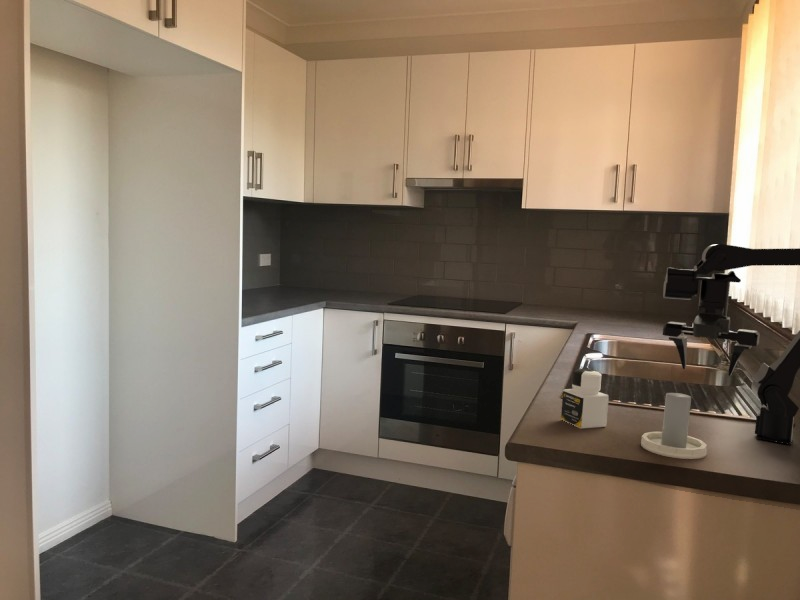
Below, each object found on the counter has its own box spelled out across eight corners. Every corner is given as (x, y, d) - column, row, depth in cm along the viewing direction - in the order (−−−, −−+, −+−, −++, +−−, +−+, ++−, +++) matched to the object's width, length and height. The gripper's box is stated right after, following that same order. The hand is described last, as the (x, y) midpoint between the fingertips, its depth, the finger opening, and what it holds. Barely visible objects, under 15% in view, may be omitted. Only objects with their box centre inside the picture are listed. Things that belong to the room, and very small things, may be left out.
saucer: (710, 448, 135) (711, 439, 135) (700, 463, 125) (701, 454, 125) (648, 436, 141) (649, 428, 141) (634, 449, 131) (635, 440, 131)
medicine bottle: (560, 420, 151) (564, 367, 150) (585, 418, 153) (590, 366, 152) (580, 429, 144) (584, 374, 143) (606, 427, 147) (611, 373, 146)
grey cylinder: (683, 443, 135) (688, 394, 134) (688, 450, 130) (693, 399, 129) (659, 440, 136) (664, 391, 135) (663, 447, 131) (667, 396, 130)
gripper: (660, 299, 144) (653, 370, 146) (758, 308, 134) (750, 384, 136) (671, 297, 154) (664, 364, 155) (763, 305, 144) (755, 377, 145)
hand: (706, 372), depth 147 cm, fingers open, 9 cm apart
